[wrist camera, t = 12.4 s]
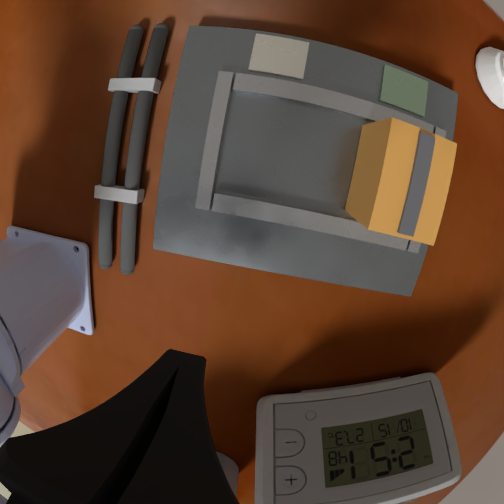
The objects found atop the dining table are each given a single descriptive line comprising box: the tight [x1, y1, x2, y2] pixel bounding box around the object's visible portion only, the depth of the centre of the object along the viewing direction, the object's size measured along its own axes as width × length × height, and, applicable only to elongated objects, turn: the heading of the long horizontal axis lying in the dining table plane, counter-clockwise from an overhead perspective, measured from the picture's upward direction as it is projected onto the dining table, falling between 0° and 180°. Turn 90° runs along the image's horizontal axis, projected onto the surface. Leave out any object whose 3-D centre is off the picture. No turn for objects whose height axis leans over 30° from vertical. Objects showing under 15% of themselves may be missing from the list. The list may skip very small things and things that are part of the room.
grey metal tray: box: [153, 26, 458, 297], centre depth 16 cm, size 17×14×2 cm
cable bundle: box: [94, 23, 169, 275], centre depth 17 cm, size 3×17×1 cm, turn 170°
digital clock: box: [255, 372, 462, 504], centre depth 18 cm, size 16×9×11 cm, turn 85°
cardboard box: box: [345, 117, 457, 246], centre depth 13 cm, size 4×5×5 cm
